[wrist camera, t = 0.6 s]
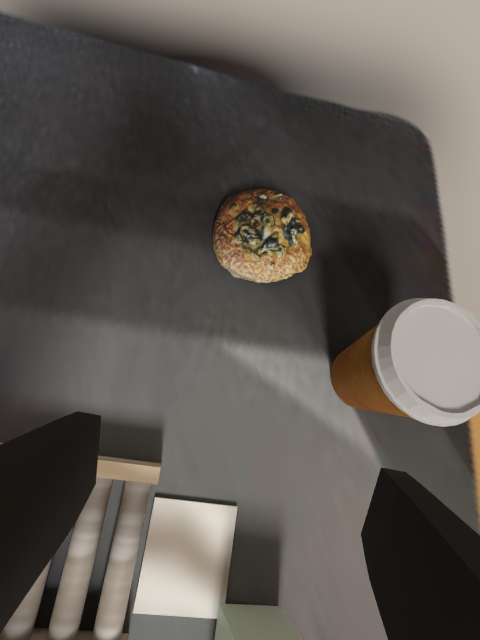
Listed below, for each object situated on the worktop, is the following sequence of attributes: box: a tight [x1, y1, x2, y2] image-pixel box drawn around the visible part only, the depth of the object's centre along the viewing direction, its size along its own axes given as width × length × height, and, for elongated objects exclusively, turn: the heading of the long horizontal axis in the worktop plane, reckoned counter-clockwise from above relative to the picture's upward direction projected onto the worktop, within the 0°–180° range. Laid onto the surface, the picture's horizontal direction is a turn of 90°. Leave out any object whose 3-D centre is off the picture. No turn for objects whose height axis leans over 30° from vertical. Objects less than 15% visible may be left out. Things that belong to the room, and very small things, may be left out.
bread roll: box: [213, 188, 312, 283], centre depth 37 cm, size 11×11×5 cm
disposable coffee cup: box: [331, 298, 480, 427], centre depth 31 cm, size 10×10×12 cm
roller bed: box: [0, 443, 237, 640], centre depth 26 cm, size 13×31×3 cm, turn 82°
